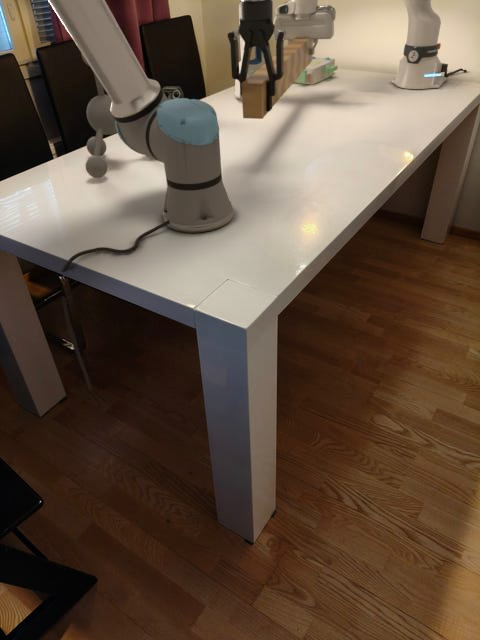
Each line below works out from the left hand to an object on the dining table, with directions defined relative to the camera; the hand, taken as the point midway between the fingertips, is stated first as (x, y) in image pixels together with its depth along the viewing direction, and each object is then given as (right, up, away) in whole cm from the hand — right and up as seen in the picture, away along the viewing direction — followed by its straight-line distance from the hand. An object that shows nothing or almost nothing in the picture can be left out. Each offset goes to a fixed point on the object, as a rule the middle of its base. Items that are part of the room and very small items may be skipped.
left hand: (258, 109), depth 122 cm
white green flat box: (+24, +50, +85) cm, 102 cm away
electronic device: (0, +32, +64) cm, 72 cm away
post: (+8, +17, +23) cm, 30 cm away
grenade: (-27, +17, +47) cm, 56 cm away
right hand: (+17, +37, +43) cm, 60 cm away
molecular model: (-37, -9, +15) cm, 41 cm away
